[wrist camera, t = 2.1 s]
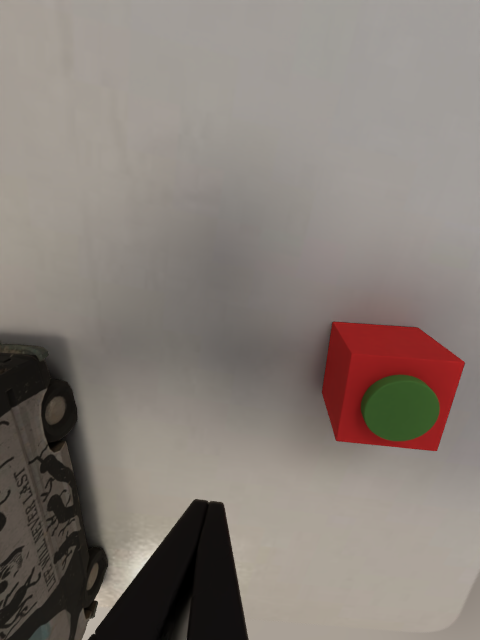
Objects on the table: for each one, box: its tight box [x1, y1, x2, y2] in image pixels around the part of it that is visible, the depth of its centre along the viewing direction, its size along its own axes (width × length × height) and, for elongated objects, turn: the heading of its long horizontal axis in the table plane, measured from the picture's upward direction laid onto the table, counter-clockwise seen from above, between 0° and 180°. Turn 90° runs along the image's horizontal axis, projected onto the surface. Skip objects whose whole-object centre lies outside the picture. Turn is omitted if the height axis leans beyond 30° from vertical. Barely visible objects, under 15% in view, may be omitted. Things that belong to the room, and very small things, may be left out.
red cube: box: [322, 322, 465, 451], centre depth 16 cm, size 5×5×5 cm
